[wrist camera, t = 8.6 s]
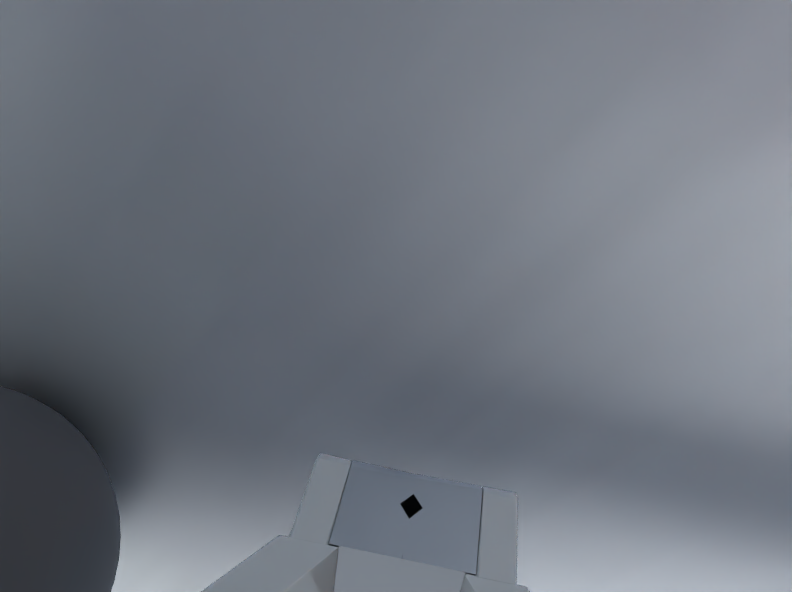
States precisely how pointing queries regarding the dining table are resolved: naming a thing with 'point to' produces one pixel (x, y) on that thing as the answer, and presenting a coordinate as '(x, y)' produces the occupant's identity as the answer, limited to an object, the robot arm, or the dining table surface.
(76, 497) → the dark grey round ball
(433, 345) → the dining table surface
